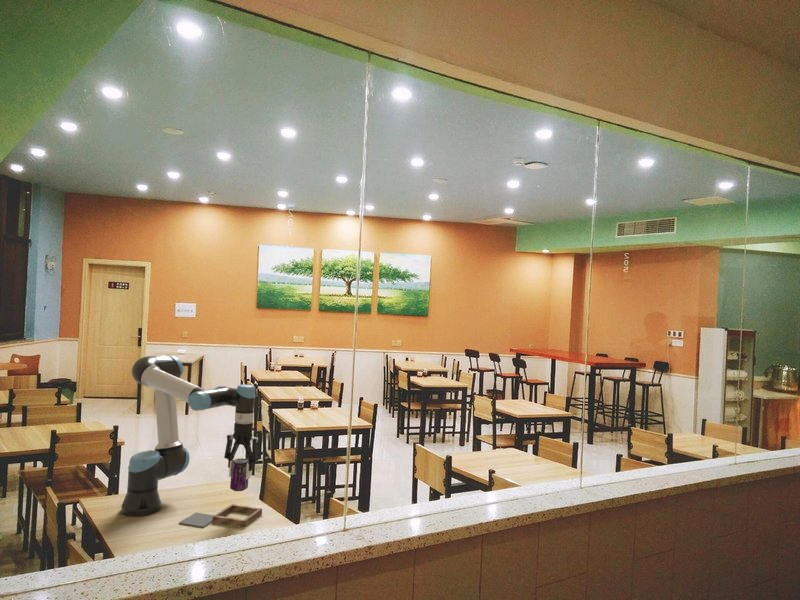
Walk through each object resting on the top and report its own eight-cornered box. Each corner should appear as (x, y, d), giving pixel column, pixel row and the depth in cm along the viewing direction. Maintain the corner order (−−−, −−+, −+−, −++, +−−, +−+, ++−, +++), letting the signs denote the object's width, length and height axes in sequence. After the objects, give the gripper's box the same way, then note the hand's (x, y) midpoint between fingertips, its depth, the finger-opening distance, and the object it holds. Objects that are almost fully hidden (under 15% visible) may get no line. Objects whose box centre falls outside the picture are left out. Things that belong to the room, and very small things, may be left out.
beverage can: (242, 493, 210) (244, 463, 210) (226, 490, 211) (228, 461, 211) (250, 487, 217) (252, 459, 217) (235, 485, 218) (237, 457, 218)
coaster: (178, 523, 205) (179, 522, 205) (195, 513, 216) (195, 512, 216) (203, 527, 202) (203, 526, 202) (219, 517, 213) (219, 516, 213)
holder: (212, 522, 208) (212, 516, 208) (231, 509, 222) (232, 504, 222) (244, 527, 205) (244, 521, 205) (261, 514, 219) (262, 508, 219)
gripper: (217, 421, 213) (213, 476, 213) (261, 426, 209) (256, 483, 208) (227, 417, 220) (223, 471, 220) (269, 423, 216) (265, 477, 215)
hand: (239, 477), depth 214 cm, fingers closed on beverage can, 7 cm apart
